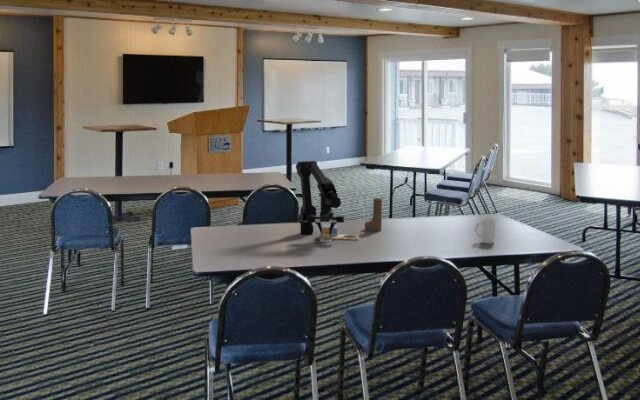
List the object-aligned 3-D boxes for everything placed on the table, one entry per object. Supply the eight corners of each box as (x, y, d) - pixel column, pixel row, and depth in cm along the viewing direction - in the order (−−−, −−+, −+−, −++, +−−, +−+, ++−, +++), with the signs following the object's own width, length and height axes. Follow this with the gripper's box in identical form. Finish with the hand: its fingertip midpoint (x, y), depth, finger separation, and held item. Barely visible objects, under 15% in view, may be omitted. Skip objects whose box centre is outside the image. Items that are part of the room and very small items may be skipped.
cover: (321, 237, 381) (321, 222, 380) (322, 233, 390) (322, 219, 389) (336, 237, 381) (336, 222, 380) (337, 234, 389) (337, 219, 388)
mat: (320, 241, 375) (320, 240, 375) (320, 239, 380) (320, 238, 380) (330, 241, 374) (330, 240, 374) (331, 239, 380) (331, 238, 380)
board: (318, 239, 381) (318, 237, 381) (320, 235, 391) (320, 234, 391) (358, 240, 379) (358, 238, 379) (359, 236, 389) (359, 234, 389)
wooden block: (364, 230, 404) (365, 198, 402) (365, 229, 409) (365, 197, 406) (380, 231, 403) (381, 199, 400) (381, 229, 408) (382, 198, 405)
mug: (493, 241, 378) (494, 218, 376) (495, 243, 372) (496, 220, 370) (473, 240, 379) (474, 218, 377) (475, 243, 372) (476, 220, 371)
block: (322, 236, 379) (322, 226, 378) (330, 236, 379) (330, 226, 378) (321, 237, 375) (321, 228, 374) (329, 237, 375) (329, 228, 374)
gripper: (306, 207, 367) (306, 237, 370) (343, 208, 366) (342, 238, 368) (308, 204, 378) (308, 233, 381) (344, 204, 377) (344, 234, 379)
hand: (325, 235), depth 377 cm, fingers closed on block, 4 cm apart
